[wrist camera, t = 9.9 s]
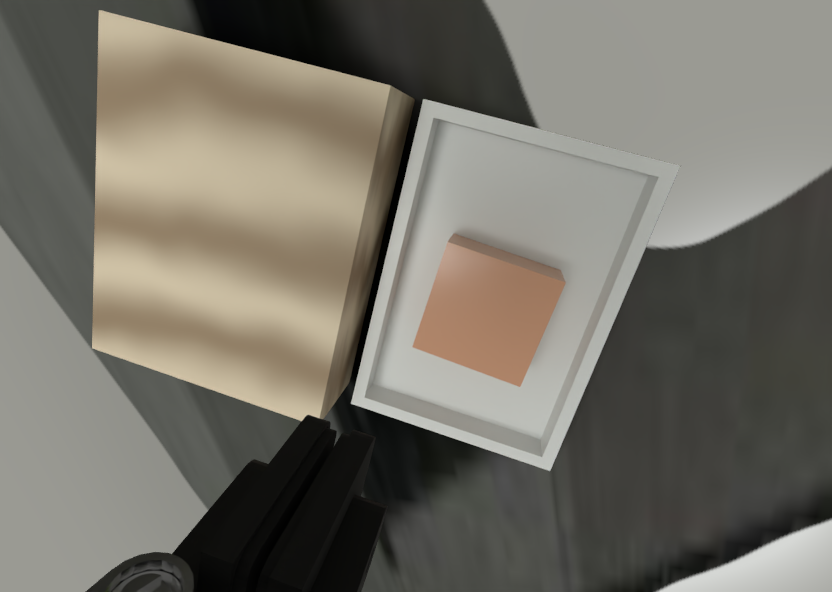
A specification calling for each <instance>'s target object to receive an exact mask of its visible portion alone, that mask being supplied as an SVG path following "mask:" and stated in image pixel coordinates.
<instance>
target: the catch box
mask: <svg viewBox="0 0 832 592" xmlns="http://www.w3.org/2000/svg"><path fill="white" fill-rule="evenodd" d="M679 168H680V165H676V164H672V163H668V162H665V161H661V160H657V159H653V158H649V157H645V156H642V155H637V154H634V153H630V152H626V151H622V150H618V149H615V148H610V147H607V146H603V145H599V144H595V143H591V142H587V141H584V140H579V139H576V138H572V137H568V136H565V135H561V134H557V133H553V132H548V131H545V130H541V129H538V128H534V127H530V126H526V125H522V124H518V123H515V122H511V121H507V120H503V119H499V118H495V117H491V116H488V115H484V114H480V113H476V112H472V111H468V110H464V109H461V108H457V107H453V106H449V105H445V104H441V103H438V102H434V101H430V100H426V99H423V102H422V107H421V111H420V115H419V119H418V123H417V128H416V132H415V136H414V140H413V144H412V149H411V153H410V157H409V161H408V166H407V170H406V174H405V178H404V182H403V187H402V191H401V195H400V199H399V203H398V208H397V212H396V216H395V220H394V225H393V229H392V233H391V237H390V241H389V246H388V250H387V254H386V258H385V262H384V267H383V271H382V275H381V279H380V284H379V288H378V292H377V296H376V300H375V305H374V309H373V313H372V317H371V321H370V326H369V330H368V334H367V338H366V343H365V347H364V351H363V355H362V359H361V364H360V368H359V372H358V376H357V380H356V385H355V389H354V393H353V397H352V402H351V404H354V405H357V406H360V407H363V408H366V409H369V410H372V411H375V412H378V413H381V414H383V415H386V416H389V417H392V418H395V419H398V420H401V421H404V422H407V423H410V424H413V425H416V426H419V427H422V428H425V429H428V430H431V431H434V432H437V433H440V434H442V435H445V436H448V437H451V438H454V439H457V440H460V441H463V442H466V443H469V444H472V445H475V446H478V447H481V448H484V449H487V450H490V451H493V452H496V453H499V454H501V455H504V456H507V457H510V458H513V459H516V460H519V461H522V462H525V463H528V464H531V465H534V466H537V467H540V468H543V469H546V470H549V471H550V470H551V468H552V465H553V463H554V461H555V458H556V456H557V454H558V451H559V449H560V447H561V444H562V442H563V440H564V437H565V435H566V433H567V430H568V428H569V426H570V423H571V421H572V419H573V416H574V414H575V412H576V409H577V407H578V405H579V402H580V400H581V398H582V395H583V393H584V391H585V388H586V386H587V384H588V381H589V379H590V377H591V374H592V372H593V370H594V367H595V365H596V363H597V360H598V358H599V356H600V353H601V351H602V349H603V346H604V344H605V342H606V339H607V337H608V335H609V332H610V330H611V328H612V325H613V323H614V320H615V318H616V316H617V313H618V311H619V309H620V306H621V304H622V302H623V299H624V297H625V295H626V292H627V290H628V288H629V285H630V283H631V281H632V278H633V276H634V274H635V271H636V269H637V267H638V264H639V262H640V260H641V257H642V255H643V253H644V250H645V248H646V246H647V243H648V241H649V238H650V236H651V234H652V232H653V229H654V227H655V225H656V222H657V220H658V218H659V215H660V213H661V211H662V208H663V206H664V203H665V201H666V199H667V197H668V194H669V192H670V190H671V187H672V185H673V182H674V180H675V178H676V176H677V173H678V171H679ZM453 234H457V235H460V236H463V237H466V238H469V239H472V240H475V241H478V242H480V243H483V244H486V245H489V246H492V247H495V248H498V249H501V250H504V251H507V252H510V253H512V254H515V255H518V256H521V257H524V258H527V259H530V260H533V261H536V262H539V263H542V264H544V265H547V266H550V267H553V268H556V269H559V270H561V272H562V274H563V277H564V279H565V281H566V284H565V286H564V288H563V291H562V293H561V295H560V297H559V300H558V302H557V304H556V307H555V309H554V311H553V313H552V316H551V318H550V320H549V323H548V325H547V327H546V329H545V332H544V334H543V336H542V338H541V341H540V343H539V345H538V348H537V350H536V352H535V354H534V357H533V359H532V361H531V364H530V366H529V368H528V370H527V373H526V375H525V377H524V380H523V382H522V384H521V386H520V387H518V386H516V385H513V384H510V383H508V382H505V381H502V380H500V379H497V378H494V377H491V376H489V375H486V374H483V373H481V372H478V371H475V370H473V369H470V368H467V367H464V366H462V365H459V364H456V363H454V362H451V361H448V360H446V359H443V358H440V357H437V356H435V355H432V354H429V353H427V352H424V351H421V350H419V349H416V348H413V347H412V346H413V343H414V340H415V337H416V334H417V331H418V328H419V325H420V323H421V320H422V317H423V314H424V311H425V308H426V305H427V302H428V299H429V296H430V293H431V290H432V287H433V284H434V281H435V278H436V275H437V272H438V269H439V266H440V263H441V260H442V257H443V254H444V251H445V248H446V245H447V242H448V240H449V239H450V238H451V236H452V235H453Z"/></svg>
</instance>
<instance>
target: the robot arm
mask: <svg viewBox="0 0 832 592" xmlns="http://www.w3.org/2000/svg"><path fill="white" fill-rule="evenodd" d="M335 438H336V431H335V430H332V429H330V422H329V421H326V420H323V419H320V418H317V417H314V416H311V415H307V416H306V417H305V418H304V419H303V420H302V422H301V423H300V424H299V425H298V427H297V428H296V429H295V431H294V432H293V433H292V435H291V436H290V437H289V438H288V440H287V441H286V442H285V444H284V445H283V446H282V448H281V449H280V450H279V451H278V453H277V454H276V455H275V457H274V458H273V459H272V460H271V462H270V463H269V464H266V463H263V462H260V461H257V460H255V459H254V460H252V461H250V462H249V463H248V464H247V465H246V466H245V468H244V469H243V470H242V471H241V472H240V474H239V475H238V476H237V477H236V478H235V480H234V481H233V482H232V483H231V484H230V485H229V487H228V488H227V489H226V490H225V491H224V493H223V494H222V495H221V496H220V497H219V499H218V500H217V501H216V502H215V503H214V505H213V506H212V507H211V508H210V509H209V510H208V512H207V513H206V514H205V515H204V516H203V518H202V519H201V520H200V521H199V522H198V524H197V525H196V526H195V527H194V528H193V530H192V531H191V532H190V533H189V535H188V536H187V537H186V538H185V539H184V540H183V542H182V543H181V544H180V545H179V546H178V547H177V549H176V550H175V551H174V552H173V553H172V554H170V553H161V552H153V553H147V554H141V555H138V556H136V557H133V558H131V559H128V560H126V561H124V562H122V563H121V564H119V565H118V566H117V567H115V568H114V569H112V570H111V571H110V572H108V573H107V574H106V575H105V576H104V577H103V578H101V579H100V580H99V581H98V582H97V583H95V584H94V585H93V586H92V587H91V588H89V589H88V590H87V591H86V592H361V591H362V588H363V585H364V582H365V579H366V576H367V573H368V570H369V567H370V564H371V561H372V558H373V554H374V551H375V548H376V545H377V542H378V538H379V535H380V531H381V528H382V524H383V521H384V517H385V514H386V510H387V506H386V505H383V504H380V503H377V502H374V501H372V500H369V499H366V498H363V497H361V494H362V490H363V486H364V482H365V478H366V474H367V471H368V467H369V463H370V459H371V455H372V451H373V447H374V443H375V437H374V436H371V435H368V434H365V433H362V432H359V431H356V430H353V431H352V432H351V434H350V435H347V434H344V433H342V434H341V436H340V437H339V439H338V441H337V442H336V444H335V446H334V443H335Z"/></svg>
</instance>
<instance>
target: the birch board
mask: <svg viewBox="0 0 832 592" xmlns="http://www.w3.org/2000/svg"><path fill="white" fill-rule="evenodd" d="M414 101H415V99H413V98H412V97H410V96H408V95H406V94H405V93H403V92H401V91H399V90H398V89H396V88H394V87H392V86H391V85H387V84H383V83H379V82H375V81H371V80H367V79H364V78H360V77H356V76H352V75H348V74H344V73H340V72H337V71H333V70H329V69H325V68H321V67H317V66H313V65H309V64H306V63H302V62H298V61H294V60H290V59H286V58H282V57H279V56H275V55H271V54H267V53H263V52H259V51H255V50H251V49H248V48H244V47H240V46H236V45H232V44H228V43H224V42H221V41H217V40H213V39H209V38H205V37H201V36H197V35H193V34H190V33H186V32H182V31H178V30H174V29H170V28H166V27H163V26H159V25H155V24H151V23H147V22H143V21H139V20H135V19H132V18H128V17H124V16H120V15H116V14H112V13H108V12H105V11H101V10H99V34H98V84H97V135H96V186H95V236H94V287H93V337H92V348H93V349H96V350H99V351H102V352H104V353H107V354H110V355H113V356H116V357H119V358H122V359H125V360H127V361H130V362H133V363H136V364H139V365H142V366H145V367H148V368H150V369H153V370H156V371H159V372H162V373H165V374H168V375H171V376H174V377H176V378H179V379H182V380H185V381H188V382H191V383H194V384H197V385H199V386H202V387H205V388H208V389H211V390H214V391H217V392H220V393H222V394H225V395H228V396H231V397H234V398H237V399H240V400H243V401H245V402H248V403H251V404H254V405H257V406H260V407H263V408H266V409H269V410H271V411H274V412H277V413H280V414H283V415H286V416H289V417H292V418H294V419H297V420H300V421H302V420H303V419H304V418H305V417H306V416H307V415H311V416H314V417H317V418H320V419H324V417H325V416H326V414H327V413H328V412H329V410H330V409H331V407H332V406H333V405H334V403H335V402H336V400H337V399H338V398H339V396H340V395H341V393H342V392H343V391H344V389H345V388H346V386H347V385H348V384H349V382H350V377H351V373H352V369H353V364H354V360H355V356H356V351H357V347H358V343H359V339H360V334H361V330H362V326H363V321H364V317H365V313H366V308H367V304H368V300H369V295H370V291H371V287H372V282H373V278H374V274H375V270H376V265H377V261H378V257H379V252H380V248H381V244H382V239H383V235H384V231H385V226H386V222H387V218H388V213H389V209H390V205H391V200H392V196H393V192H394V188H395V183H396V179H397V175H398V170H399V166H400V162H401V157H402V153H403V149H404V144H405V140H406V136H407V131H408V127H409V123H410V118H411V114H412V110H413V106H414Z"/></svg>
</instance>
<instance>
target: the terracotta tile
mask: <svg viewBox="0 0 832 592" xmlns="http://www.w3.org/2000/svg"><path fill="white" fill-rule="evenodd" d="M565 284H566V281H565V279H564V277H563V274H562V272H561V270H559V269H556V268H553V267H550V266H547V265H544V264H542V263H539V262H536V261H533V260H530V259H527V258H524V257H521V256H518V255H515V254H512V253H510V252H507V251H504V250H501V249H498V248H495V247H492V246H489V245H486V244H483V243H480V242H478V241H475V240H472V239H469V238H466V237H463V236H460V235H457V234H453V235H452V236H451V238H450V239H449V240H448V242H447V245H446V248H445V251H444V254H443V257H442V260H441V263H440V266H439V269H438V272H437V275H436V278H435V281H434V284H433V287H432V290H431V293H430V296H429V299H428V302H427V305H426V308H425V311H424V314H423V317H422V320H421V323H420V325H419V328H418V331H417V334H416V337H415V340H414V343H413V346H412V347H413V348H416V349H419V350H421V351H424V352H427V353H429V354H432V355H435V356H437V357H440V358H443V359H446V360H448V361H451V362H454V363H456V364H459V365H462V366H464V367H467V368H470V369H473V370H475V371H478V372H481V373H483V374H486V375H489V376H491V377H494V378H497V379H500V380H502V381H505V382H508V383H510V384H513V385H516V386H518V387H520V386H521V384H522V382H523V380H524V377H525V375H526V373H527V370H528V368H529V366H530V364H531V361H532V359H533V357H534V354H535V352H536V350H537V348H538V345H539V343H540V341H541V338H542V336H543V334H544V332H545V329H546V327H547V325H548V323H549V320H550V318H551V316H552V313H553V311H554V309H555V307H556V304H557V302H558V300H559V297H560V295H561V293H562V291H563V288H564V286H565Z"/></svg>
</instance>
